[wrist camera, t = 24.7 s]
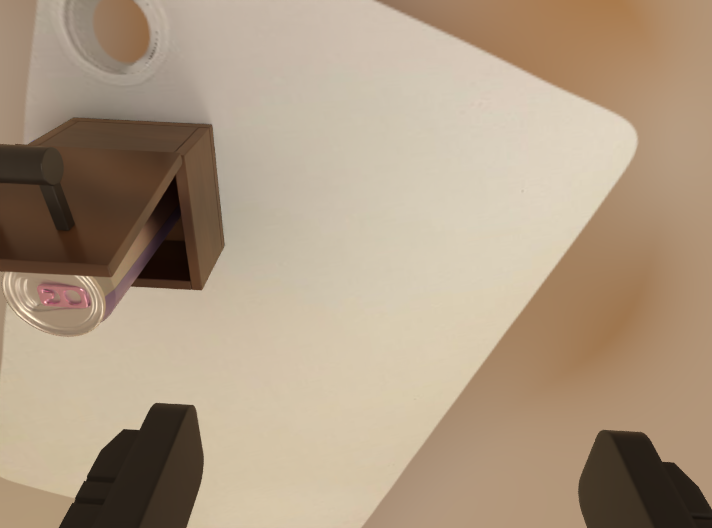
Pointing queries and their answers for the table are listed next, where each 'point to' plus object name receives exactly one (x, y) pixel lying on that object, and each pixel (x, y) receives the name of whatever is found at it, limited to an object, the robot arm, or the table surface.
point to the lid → (76, 206)
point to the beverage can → (88, 281)
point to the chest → (194, 184)
